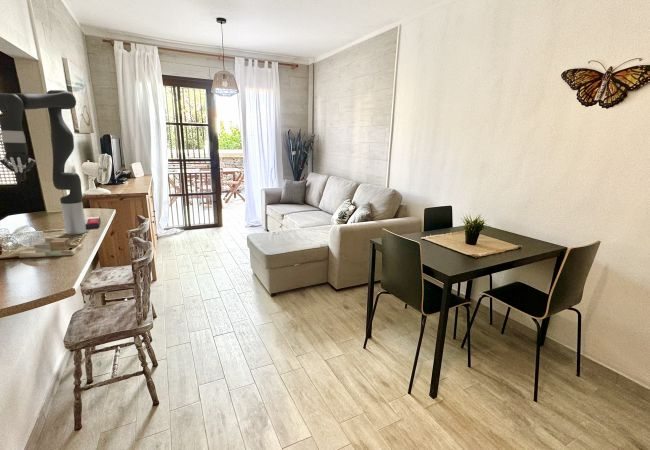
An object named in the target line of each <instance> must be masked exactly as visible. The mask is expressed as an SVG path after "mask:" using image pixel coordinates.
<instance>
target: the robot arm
mask: <svg viewBox="0 0 650 450" xmlns="http://www.w3.org/2000/svg"><path fill="white" fill-rule="evenodd" d="M76 105H77V99H76V97H75V95H74V94H73V93H71V92H70V91H67V90H62V89H54V90H53V89H51V90H48V91H47V92H46V93H40V92H39V93H37V92H36V93H35V92H20V93H3V92H0V111H4V112H5V111H7V112H6V115H4V116H0V130H1V131H0V132H1V140H2V145H3V149H4V154H5V155H4V158H2V159H0V163H1V164H2V165H3V166H4V167H6V168H7V169H8V170H9V171H10V172H14V173H15V174H16V178H17V180H18V181H19V182H24V181H27V174H26V173H27V172H29V171H31V170H32V168H33V167H34V166H35V165H36V163H37V160H36V159H33V158H32V157H30V156H31V155H29V153H28V152H29V151H28V146H27V145H28V144H27V141H26V134H25V133H24V128H23V124H22V121H23V115H24V110H38V109H47V113H48V118H49V125H50V139H51V149H52V184H53V187H54V188H55V189H56V190H59V191H60V190H62V191H64V190H65V191H69V194H67V195H64V196H61V197H60V201H59V202H60V206H61V212H62V217H63V225H64V230H65V234H66V235H68V236H69V235H73V236H74V235H81V234H85V233H87V230H88V229H86V224H85V218H86V217H85V212H84V206H83V205H84V204H83V199H82V198H83V192H82V180H81V178H80V175H79V174H78V173H77V172H65V169H66V167H65V166H66V163H67V161H68V160H69V158H70V156H71V155H72V154H73V152H74V149H75V141H74V140H75V139H74V134H73V132H72V131H71V130H70V128H69V126H68V125H67V124H66V123H65V120H64V119H63V113H62V110H71V109H74V108H75V107H76Z"/></svg>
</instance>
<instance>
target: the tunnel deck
mask: <svg viewBox="0 0 650 450" xmlns="http://www.w3.org/2000/svg"><path fill="white" fill-rule="evenodd" d="M59 238H60V237H53V238H52V237H50V238H48V237H47V238H45V239H44V240H45V241H44V242H45V243H41V244H39V243H38V244H37V243H36V244H33V245H32V246H29V247H27V248H25V249H24V250H22V251H20V252H19V253H17V254H18V258H20V259H21V258H35V257H36V258H38V257H57V256H74V255H76V254H77V253H79V252H80V251H81V250H83V247H84V244H83V243H75V244H74V243H73V244H71V243H70V245H71V246H70V247H69V248H72V249H70V250H69V248H67V249H66V250H53V251H51V247H50V243H49V242H51V241H52V240H54V239H59Z"/></svg>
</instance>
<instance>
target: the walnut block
mask: <svg viewBox="0 0 650 450" xmlns="http://www.w3.org/2000/svg"><path fill="white" fill-rule="evenodd" d="M58 238H59V239H54V240H52V241H51V242H49V243H50V247H51V251H53V250H66V249H67V248H69V247H70V246H71V245H70V244H71V241H70V237H66V238H65V237H62V238H60V237H58Z"/></svg>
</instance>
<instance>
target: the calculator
mask: <svg viewBox="0 0 650 450" xmlns="http://www.w3.org/2000/svg"><path fill="white" fill-rule="evenodd" d="M101 222H102V221H101V217H100V216H92V217H91V216H90V217H85V224H86V230H90V229H100V227H101V224H102V223H101Z"/></svg>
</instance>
